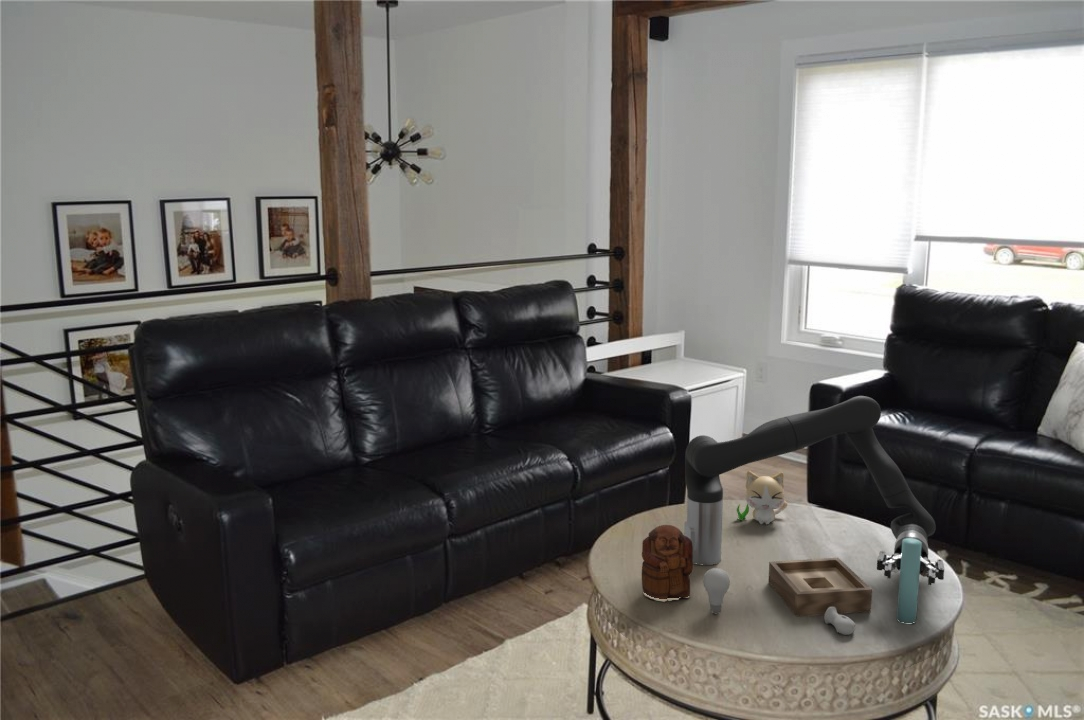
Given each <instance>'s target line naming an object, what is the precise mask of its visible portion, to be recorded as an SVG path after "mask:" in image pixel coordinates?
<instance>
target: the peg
mask: <svg viewBox="0 0 1084 720" xmlns="http://www.w3.org/2000/svg"><path fill="white" fill-rule="evenodd" d="M921 546H922V542H921V541H919V540H916V539H911V538H906V539H903V540H902V553H901V567H900V572H899V585H898V595H897V596H898V597H897V608H896V609H897V612H896V620H897V619H898V620H899V621H900V622H899V621H898V620H897V621H898V622H899V623H901V622H904V623H913V622H915V621H917V608H918V597H919V596H918V595H919V584H920V583H919V582H920V574H919V572H920V559H921ZM904 623H903V624H904ZM915 623H916V622H915Z"/></svg>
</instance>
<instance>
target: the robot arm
mask: <svg viewBox="0 0 1084 720" xmlns="http://www.w3.org/2000/svg"><path fill="white" fill-rule="evenodd" d="M881 416H882V409H881V406H880V404H879V403H878V401H876V400H875V399H873V398H872V397H869V396H867V395H866V396H864V395H858V396H854V397H853V396H852V397H851V398H849V399H847V400H845V401H843V402H840V403H838V404H835V405H832V406H829V407H827V408H822V409H816V410H811V411H810V410H809V411H806V412H805V411H804V412H801V413H796V414H792V415H787V416H783V417H780V418H776V419H772V420H769V421H767V422H764V423H762V424H761V425H759V426H758V427H756V428H755V429H753V430H752V431H750V432H749V433H748V434H746V435H743V436H741V437H738V438H735V439H731V440H725V441H719V442H718V441H717V440H716V439H714V438H713V437H711V436H708V435H704V434H703V435H698V436H695V437H694V438H692V439H691V440H690V441H689V442H688V444H687V446H686V449H685V456H684V457H685V459H684V466H685V467H684V473H685V474H684V475H685V476H684V477H685V478H684V480H685V481H684V482H685V486H686V492H687V493H686V496H687V499H686V500H687V501H686V521H684V527H683V529H684V530H683V535H685V536H687V537H688V538H690V540H691V541H692V546H693V560H692V561H693V563H697V564H696V565H698V564H703V565H702V566H714V565H717V564H719V563H720V562H721V561H722V540H723V539H722V535H723V505H724V504H723V503H724V502H723V501H724V489H723V486H722V483H721V482H722V481H721V479H720V475H723V474H725V473H727V472H730V471H732V470H735V469H737V468H740V467H742V466H743V467H744V466H746V465H747V464H750V463H755V462H759V461H763V460H767V459H770V458H773V457H778V456H782V455H786V454H789V453H793V452H796V451H799V450H802V449H804V448H808V447H809V446H810V447H811V446H813V445H814V444H817V443H820V442H822V441H824V440H827V439H828V438H831V437H834V436H836V435H842V434H845V435H846V437H847V439H849V440H850V443H852V445H853V447H854V448H855V449H856V451H857V453H858V454H859V455H860V457H861V459H862V461H863V463H865V466H866V468H867V469H868V471H869V473H870V475H871V477H872V479H873V480H874V483H875V485H876V487H877V489H878V491H879V493H880V495H881V497H882V499H883V501H884V503H885V505H886V506H887V507H888V508H890V509H896V508H902V507H903V508H908V509H909V510H911V512H908V513H905V514H903V515H900V516H897V517H896V518H894V519H893V520H891V523H890V529H891V532H892V535H893V536H894V538H895V539H896V540H895V542H894V548H893V554H891V555H887V553H886V552H885V551H884V550H881V551H879V553H878V556H877V561H876V562H877V563H876V570H877V571H883V573H884V574H883V575H884V577H886V579H889V580H891V575H892V572H894V573H900V567H901V553H902V540H903V539H906V538H911V539H916V540H919V541H921V542H922V546H921V559H920V572H919V576H921V577H926V578H927V585H928V586H932V584H933V585H934V584H935V583H936V579H938V580H939V581H940V580H941V581H943V580H944V579H945V577H944V576H945V565H944V564H945V563H944V560H943V559H937V560H936V561H931V560H930V559H929V545H928V537H931V536H933V535H934V534H935V532H936V529H937V527H936V521H935V519H934V518H933V516H932V515H931V514H930V513H929V512H928V511H927V510H926V509H925V508H924V506H922V504H921V503H920V502H919V500H918V499H917V498H916V497H915V495H914V494H913V492H912V491H911V488H910V487H909V485H908V482H907V480H906V479H905V476H904V475H903V472H902V471H901V469H900V468H899V466H898V465H897V464H896V462H894V460H893V459H892V458H891V456H890V455H889V454H888V453H887V452H886V451H885V449H884V448H883V446H882V445H881V444H880V442H879V440H878V439H877V436H876V434H875V432H874V429H873V428H874V427H875V426H876V425H877V424H878V422H879V421H880V420H881ZM713 564H714V565H713Z"/></svg>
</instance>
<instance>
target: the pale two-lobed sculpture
mask: <svg viewBox="0 0 1084 720" xmlns="http://www.w3.org/2000/svg"><path fill="white" fill-rule="evenodd" d="M823 618H824V624H826V625H829V624H832V626H833V627H834V628H835V631H836V632H837V633H838V632H839V634H841V635H845V636H849V635H851V634H853V633H854V631H855V629H856V624H855V622H854V621H853V620H852V619H851V618H850V617H848V616H846V615H843V614H838V613H837V610H836V608H835V607H829V608H828V609H827V610H826V612H825V615H824V617H823Z"/></svg>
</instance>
